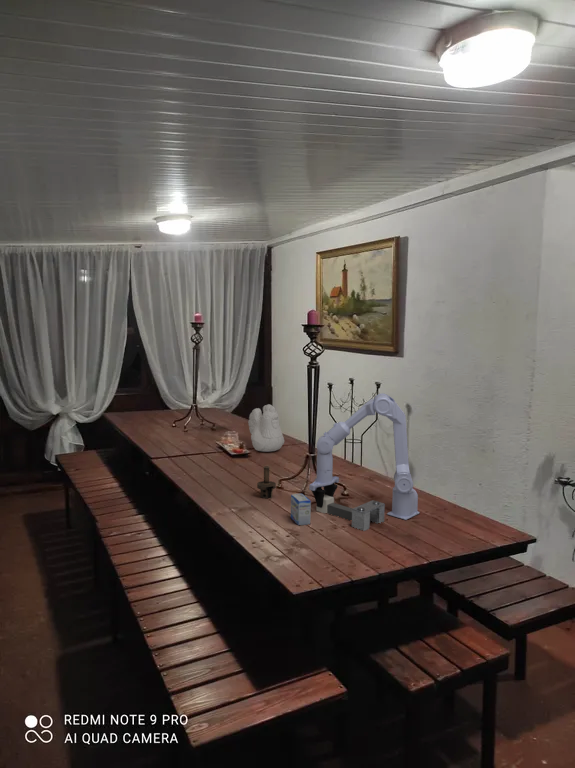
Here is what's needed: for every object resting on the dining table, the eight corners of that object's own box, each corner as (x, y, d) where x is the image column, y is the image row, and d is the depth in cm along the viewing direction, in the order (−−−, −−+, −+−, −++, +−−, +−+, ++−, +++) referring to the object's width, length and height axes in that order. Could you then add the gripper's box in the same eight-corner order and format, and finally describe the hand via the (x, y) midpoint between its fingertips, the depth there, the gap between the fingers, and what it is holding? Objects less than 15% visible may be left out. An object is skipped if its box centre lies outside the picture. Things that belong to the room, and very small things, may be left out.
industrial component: (278, 498, 217) (278, 468, 216) (261, 500, 215) (261, 470, 213) (270, 491, 226) (270, 462, 224) (253, 493, 223) (253, 464, 222)
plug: (324, 507, 208) (324, 494, 207) (362, 519, 196) (362, 505, 195) (316, 510, 204) (316, 497, 204) (354, 522, 193) (354, 508, 192)
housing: (372, 517, 198) (372, 499, 197) (384, 521, 194) (384, 502, 193) (351, 527, 189) (352, 507, 188) (363, 531, 186) (364, 511, 185)
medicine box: (290, 518, 197) (290, 494, 196) (302, 516, 198) (302, 492, 197) (298, 526, 190) (298, 501, 188) (310, 524, 191) (311, 499, 190)
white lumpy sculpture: (288, 453, 288) (289, 405, 285) (260, 456, 281) (260, 407, 278) (269, 442, 310) (269, 398, 307) (242, 445, 304) (242, 400, 301)
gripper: (328, 463, 211) (328, 498, 213) (303, 470, 200) (302, 507, 202) (343, 466, 206) (342, 502, 208) (318, 474, 196) (317, 512, 197)
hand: (324, 505), depth 205 cm, fingers closed on plug, 4 cm apart
